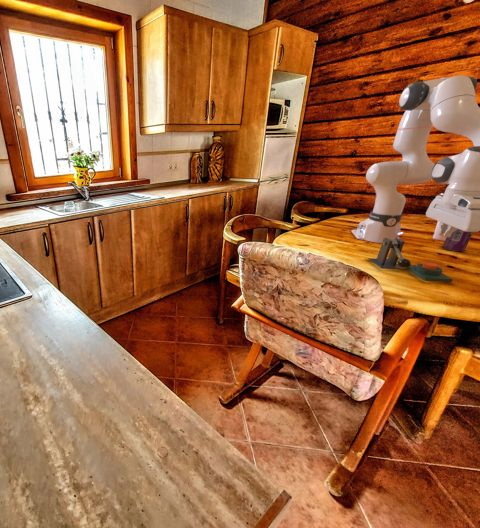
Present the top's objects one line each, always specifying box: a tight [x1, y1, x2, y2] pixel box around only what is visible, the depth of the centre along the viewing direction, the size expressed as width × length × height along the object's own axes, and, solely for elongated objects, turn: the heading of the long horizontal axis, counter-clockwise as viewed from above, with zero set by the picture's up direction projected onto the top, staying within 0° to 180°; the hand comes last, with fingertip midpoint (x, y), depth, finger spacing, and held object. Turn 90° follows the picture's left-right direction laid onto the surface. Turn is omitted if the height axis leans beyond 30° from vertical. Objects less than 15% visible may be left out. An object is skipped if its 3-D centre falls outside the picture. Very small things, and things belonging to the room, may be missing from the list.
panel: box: [405, 263, 454, 283], centre depth 107 cm, size 12×8×4 cm, turn 165°
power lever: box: [389, 239, 412, 269], centre depth 110 cm, size 14×4×4 cm, turn 165°
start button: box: [422, 261, 439, 270], centre depth 106 cm, size 4×4×2 cm
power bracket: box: [368, 237, 405, 270], centre depth 115 cm, size 10×8×12 cm
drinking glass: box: [432, 221, 446, 242], centre depth 138 cm, size 7×7×15 cm
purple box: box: [442, 229, 474, 252], centre depth 127 cm, size 7×7×12 cm
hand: (443, 235), depth 101 cm, fingers closed
